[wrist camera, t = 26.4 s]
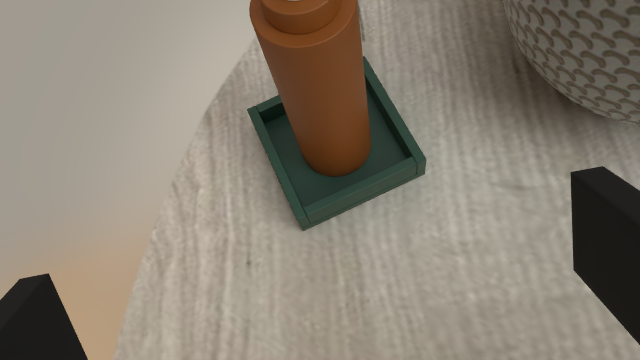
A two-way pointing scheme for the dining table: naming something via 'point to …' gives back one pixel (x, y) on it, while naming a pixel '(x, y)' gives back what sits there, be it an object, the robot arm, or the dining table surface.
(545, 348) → the dining table surface
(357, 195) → the tray
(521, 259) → the dining table surface
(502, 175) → the dining table surface
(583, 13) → the planter
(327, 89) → the bottle
